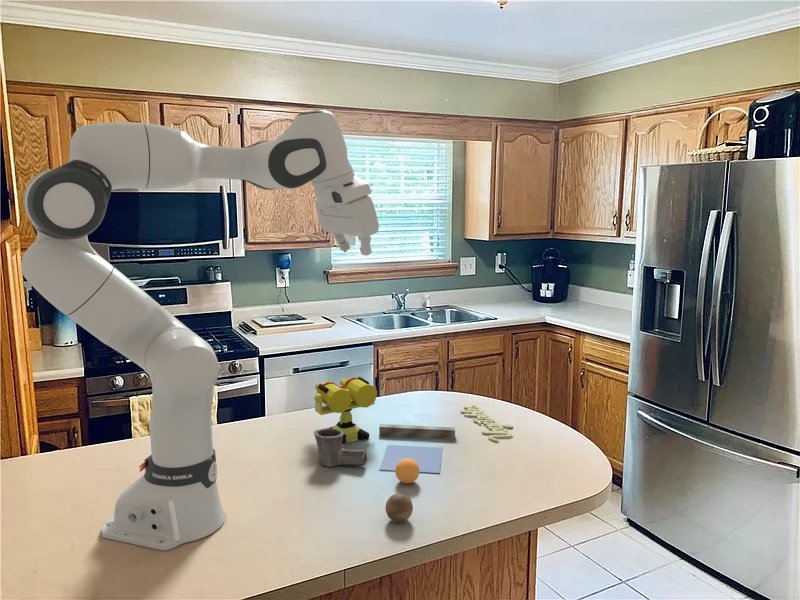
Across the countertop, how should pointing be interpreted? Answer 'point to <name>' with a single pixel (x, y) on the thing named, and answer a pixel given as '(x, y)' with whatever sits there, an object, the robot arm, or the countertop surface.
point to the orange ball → (407, 471)
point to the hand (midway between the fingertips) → (356, 252)
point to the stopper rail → (417, 431)
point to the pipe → (336, 449)
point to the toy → (345, 404)
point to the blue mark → (413, 457)
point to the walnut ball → (399, 507)
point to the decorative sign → (487, 423)
